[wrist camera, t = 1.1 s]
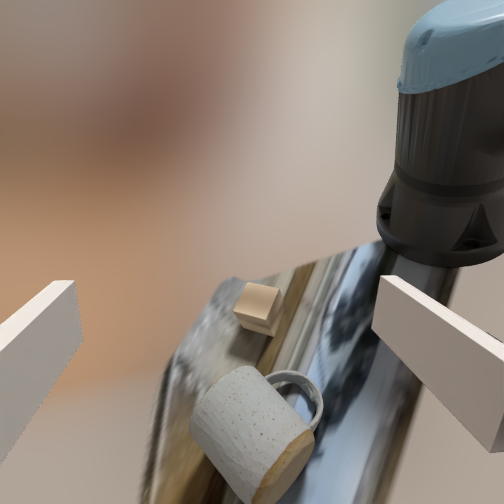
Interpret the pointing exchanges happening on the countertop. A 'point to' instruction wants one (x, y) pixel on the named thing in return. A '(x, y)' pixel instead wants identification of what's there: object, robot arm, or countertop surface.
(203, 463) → the countertop surface
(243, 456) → the ceramic mug
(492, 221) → the robot arm
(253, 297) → the birch block
